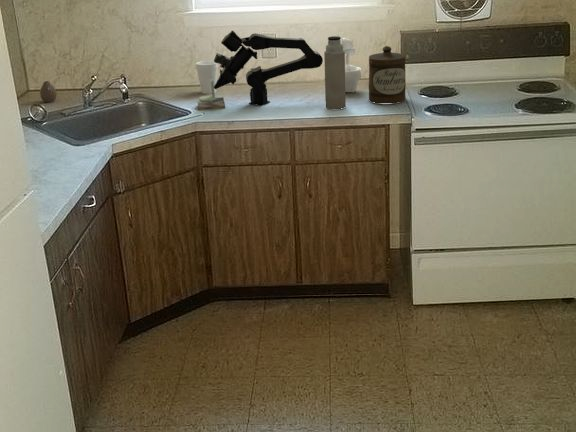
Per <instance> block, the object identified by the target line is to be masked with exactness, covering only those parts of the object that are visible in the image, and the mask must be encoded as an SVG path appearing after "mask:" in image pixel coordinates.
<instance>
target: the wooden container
mask: <svg viewBox="0 0 576 432" xmlns="http://www.w3.org/2000/svg"><path fill="white" fill-rule="evenodd" d="M382 51H383V52H380V53H379V52H378V53H374V54H371V55H369V56H368V101H369V100H370V101H371V102H375V103H397V102H401V103H403V102H402V101H404V100H405V101H406V86H407V85H406V83H407V82H406V79H407V78H406V54H404V53H403V54H402V53H399V52H391V51H392V47H391V46H388V45H386V46H384V47H383V48H382ZM370 101H369V102H370ZM405 101H404V102H405ZM371 102H370V103H371ZM375 103H374V104H375Z"/></svg>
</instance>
